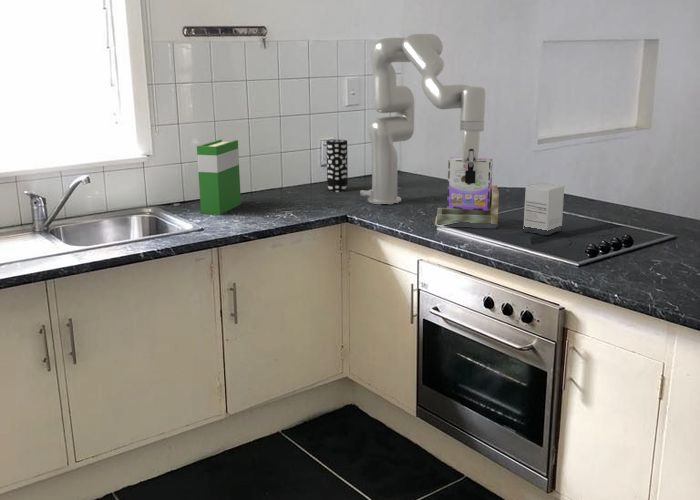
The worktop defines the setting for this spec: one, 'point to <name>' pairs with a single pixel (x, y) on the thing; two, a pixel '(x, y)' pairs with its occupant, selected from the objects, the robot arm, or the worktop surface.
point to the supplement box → (543, 206)
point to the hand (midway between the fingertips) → (469, 180)
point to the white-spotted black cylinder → (337, 166)
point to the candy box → (469, 185)
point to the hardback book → (218, 176)
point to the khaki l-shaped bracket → (471, 212)
